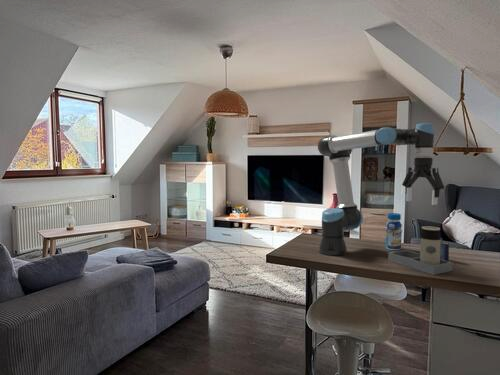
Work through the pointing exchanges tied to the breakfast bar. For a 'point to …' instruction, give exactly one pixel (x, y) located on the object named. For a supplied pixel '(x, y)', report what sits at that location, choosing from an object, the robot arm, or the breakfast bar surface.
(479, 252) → the breakfast bar surface
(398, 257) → the grey divided tray
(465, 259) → the breakfast bar surface
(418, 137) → the robot arm
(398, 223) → the beverage bottle
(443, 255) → the flask
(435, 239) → the travel mug
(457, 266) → the breakfast bar surface
